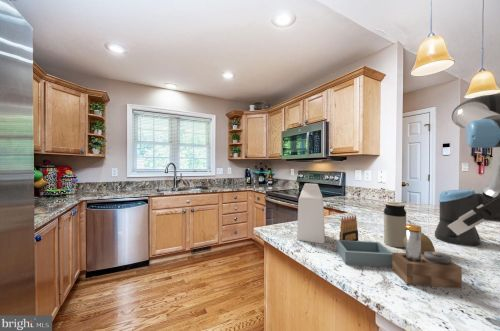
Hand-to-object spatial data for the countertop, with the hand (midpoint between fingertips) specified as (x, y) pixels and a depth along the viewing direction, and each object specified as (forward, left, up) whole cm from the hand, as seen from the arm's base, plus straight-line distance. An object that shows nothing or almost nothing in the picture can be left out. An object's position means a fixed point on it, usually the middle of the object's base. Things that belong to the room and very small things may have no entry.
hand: (458, 225), depth 56 cm
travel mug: (-2, -36, -19) cm, 41 cm away
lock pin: (+7, -7, -18) cm, 21 cm away
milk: (+33, -40, -19) cm, 55 cm away
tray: (+17, -20, -18) cm, 32 cm away
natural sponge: (-3, -22, -19) cm, 29 cm away
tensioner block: (+4, -7, -18) cm, 20 cm away
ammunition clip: (+17, -36, -19) cm, 44 cm away
